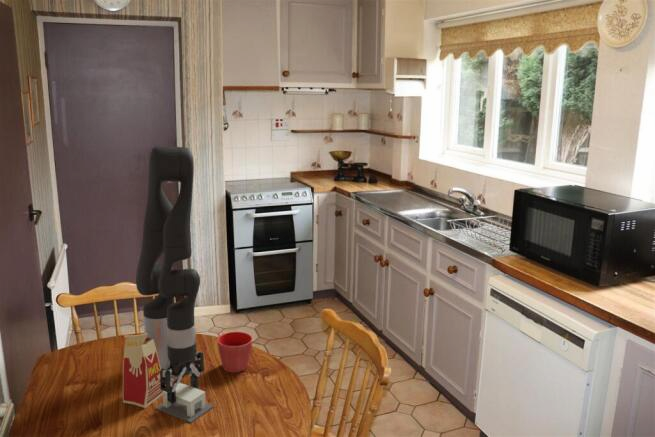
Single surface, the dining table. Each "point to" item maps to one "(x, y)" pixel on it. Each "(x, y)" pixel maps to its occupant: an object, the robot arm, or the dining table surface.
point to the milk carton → (141, 371)
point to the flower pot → (235, 350)
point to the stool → (187, 398)
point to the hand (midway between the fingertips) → (183, 395)
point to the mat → (184, 411)
